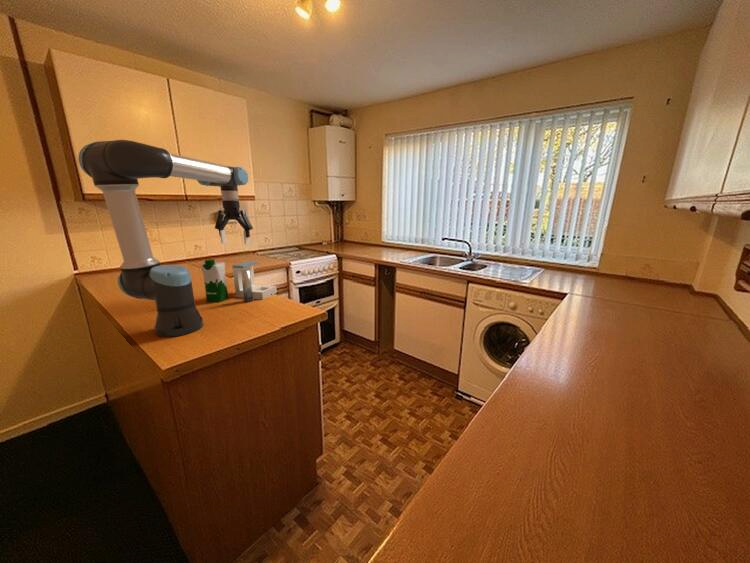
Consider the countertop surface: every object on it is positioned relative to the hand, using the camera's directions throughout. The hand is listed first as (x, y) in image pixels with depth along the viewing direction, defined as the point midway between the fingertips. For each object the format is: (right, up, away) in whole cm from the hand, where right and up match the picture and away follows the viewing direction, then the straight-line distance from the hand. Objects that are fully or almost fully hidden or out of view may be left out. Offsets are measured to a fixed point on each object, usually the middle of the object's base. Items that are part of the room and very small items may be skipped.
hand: (235, 243), depth 150 cm
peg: (+10, -29, -7) cm, 31 cm away
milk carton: (-6, -28, -5) cm, 29 cm away
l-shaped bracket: (+10, -26, +3) cm, 28 cm away
